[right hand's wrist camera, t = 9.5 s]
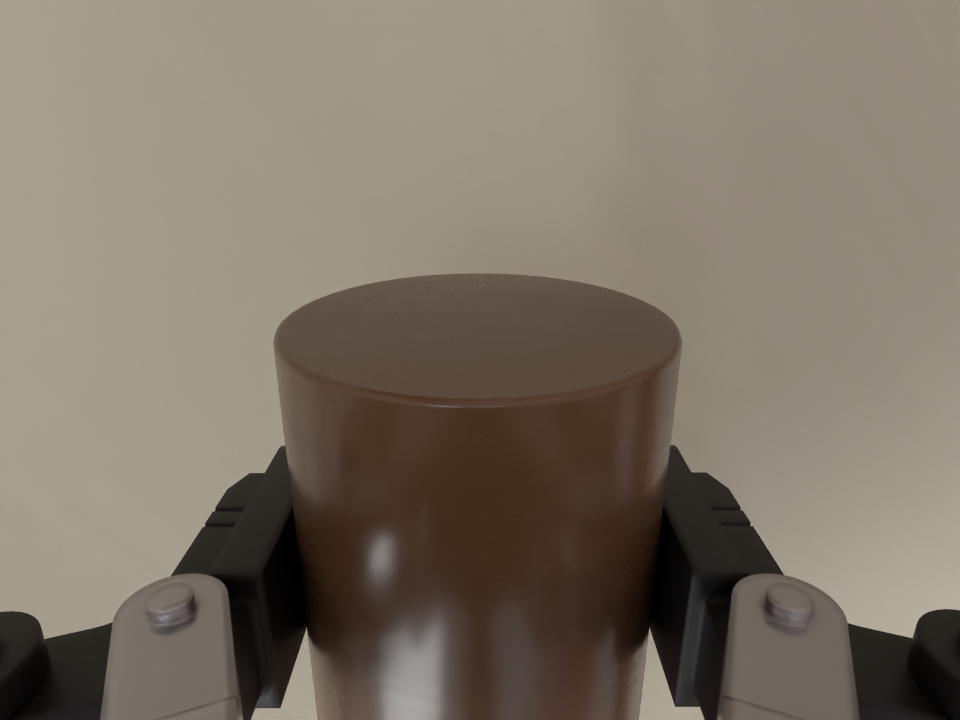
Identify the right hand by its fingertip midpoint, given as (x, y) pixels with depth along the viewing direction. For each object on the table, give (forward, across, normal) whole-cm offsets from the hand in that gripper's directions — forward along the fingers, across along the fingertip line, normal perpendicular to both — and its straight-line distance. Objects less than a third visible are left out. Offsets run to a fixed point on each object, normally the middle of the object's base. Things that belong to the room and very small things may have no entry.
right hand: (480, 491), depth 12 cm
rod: (+1, 0, -10) cm, 10 cm away
